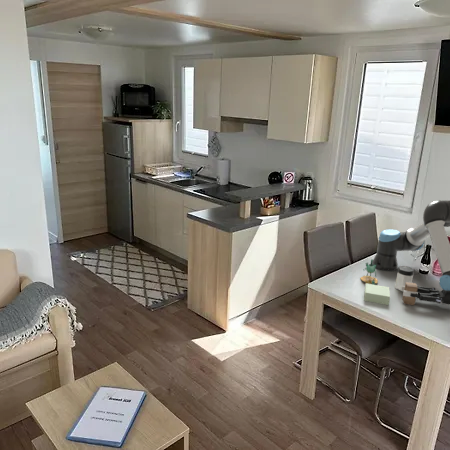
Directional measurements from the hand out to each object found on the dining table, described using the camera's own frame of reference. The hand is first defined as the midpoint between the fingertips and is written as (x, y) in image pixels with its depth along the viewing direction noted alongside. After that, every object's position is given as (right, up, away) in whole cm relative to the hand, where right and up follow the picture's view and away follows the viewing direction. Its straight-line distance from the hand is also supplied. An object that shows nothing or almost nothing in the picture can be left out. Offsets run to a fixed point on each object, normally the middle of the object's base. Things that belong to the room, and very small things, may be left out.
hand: (402, 290), depth 215 cm
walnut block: (+3, -6, +1) cm, 7 cm away
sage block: (-12, -5, +4) cm, 14 cm away
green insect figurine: (-9, +1, +24) cm, 26 cm away
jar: (+7, -2, +17) cm, 18 cm away
